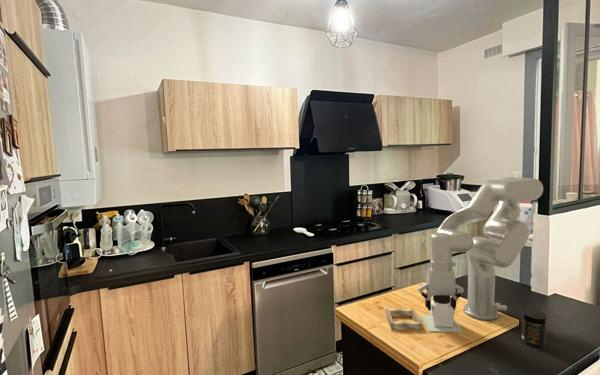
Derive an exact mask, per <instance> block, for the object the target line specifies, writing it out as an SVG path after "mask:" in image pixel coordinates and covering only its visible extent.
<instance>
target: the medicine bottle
mask: <svg viewBox="0 0 600 375" xmlns="http://www.w3.org/2000/svg"><path fill="white" fill-rule="evenodd" d="M432 297H433V298H432V300H430V301H431V310H430V311H429V315H430V319H431V321H432V323H433V325H434V326H440V327H454V321H455V317H454V316H455V311H454V309H453V307H452V306H451V305H450V298H451V295H433V296H432Z"/></svg>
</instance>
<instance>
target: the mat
mask: <svg viewBox="0 0 600 375" xmlns="http://www.w3.org/2000/svg"><path fill="white" fill-rule="evenodd" d="M419 316H420V317H419V318H421V320H422V322H423V324H424V326H425V328H426V329H427V330H428V332H429V333H464V332H463V331H464V330H462V328H461V327H460V326H459V325H458V323H457V322H456V321H455V320H454V327H440V326H434V325H433V323H432V321H431V319H430V314H420V315H419Z"/></svg>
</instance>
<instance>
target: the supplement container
mask: <svg viewBox="0 0 600 375" xmlns="http://www.w3.org/2000/svg"><path fill="white" fill-rule="evenodd" d="M521 316H522V317H521V318H522V319H521V320H522V322H521V323H522V325H521V326H522V327H521V340H522V342H523V343H524V345H525V344H526V345H527V346H529V347H531V348H535V349H536V348H537V349H538V348H539V349H541V348H544V347H545V346H546V340H547V339H546V338H547V320H548V316H547V315H546V314H545V313H544V312H541V311H539V310H534V309H524V310H522V315H521Z"/></svg>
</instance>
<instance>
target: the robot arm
mask: <svg viewBox="0 0 600 375" xmlns="http://www.w3.org/2000/svg"><path fill="white" fill-rule="evenodd" d="M543 192H544V186H543V183H542V181H540V180H539V179H536V178H531V177H529V178H528V177H518V176H517V177H515V176H514V177H513V176H506V177H502V178H500V179H490V180H489V179H488V180H486V181H485V182H483V183H482V185H480V187H479V188H478V190H477V191H476V193H475V194H474V196H473V197H472V198H471V200H470V201H469V202H468V204H467V205H466V206H465V207H463V208H461V209H459V210H457V211H455V212H454V213H452V214H450V215H449V216H447V218H445V219H444V221H443V222H442V223H441V224H440V225H439V227H438V229H437V231H436V232H433V233H432V234H431V235H430V244H429V245H430V250H429V252H430V256H429V257H430V258H429V259H430V260H429V261H430V262H429V263H430V264H429V265H430V266H429V267H427V271H426V277H425V283H424V284H422V285H421V286H419V287H417V290H418V292H419V293H420V294H421V296H422V297H423V298H424V299H425V300H424V301H425V304H424V306H425V308H427V310H428V311H429V312H430V310H431V301H432V300H431V298H432V297H433V295H450V305H451V306H452V307H453V309H454V312H455V311H456V308H457V301H458V299H459V298H460V297H462V294H464V292H465V288H463V287H462V286H460V285H458V284H456V276H455V271H454V269H453V267H456V264H457V263H456V262H454V261H453V257H452V256H453V253H465V254H466V258H467V266H468V268H467V269H468V270H467V303H466V304H465V305H463V307H462V308H463V309H462V310H463V313H465V314H466V315H468V316H469V317H471V318H474V319H478V320H480V321H481V320H482V321H483V320H484V321H494V320H497V319H498V318H499V311H507V310H508V306H507V305H505V304H501V303H499V302H496V303H495V293H496V292H495V289H496V288H495V287H496V286H495V285H496V283H495V282H496V270H495V268H494V267H497V268H500V269H506V268H508V267H510V266H511V265H512V264H513V263H514V262H515V260H516V259H517V257H518V256H519V254H520V253H521V251H522V250H523V248H524V247H525V245H526V244H527V242H528V240H529V237H530V229H529V227H528V225H527V223H525V222H523V221H521V220H518V218H519V217H520V214H521V210H520V207H519V205H518V204H519V203H521V204H522V203H526V202H531V201H535V200H538V199H539V198H541V196H542V195H543ZM485 220H487V221H486V222H485V223H484V226H483V228H482V232H483V234H484V235H485V237H483V236H472V235H470V234H469V233H467V232H464V231H460V230H458V229H460V228H461V227H463V226H465V225H468V224H472V223H478V222H482V221H485ZM425 290H426V293H425V292H424V291H425Z"/></svg>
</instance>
